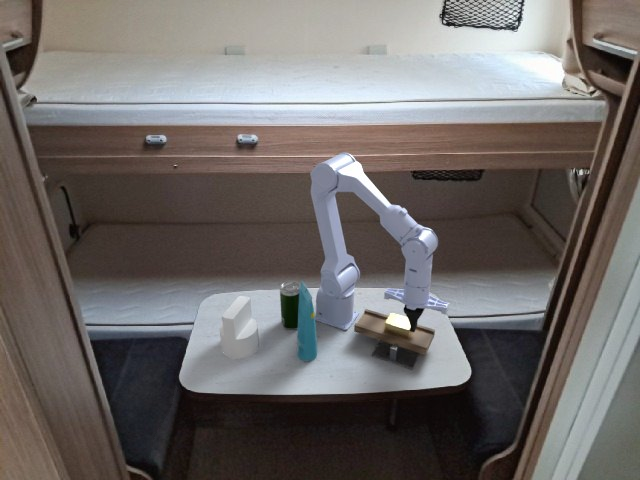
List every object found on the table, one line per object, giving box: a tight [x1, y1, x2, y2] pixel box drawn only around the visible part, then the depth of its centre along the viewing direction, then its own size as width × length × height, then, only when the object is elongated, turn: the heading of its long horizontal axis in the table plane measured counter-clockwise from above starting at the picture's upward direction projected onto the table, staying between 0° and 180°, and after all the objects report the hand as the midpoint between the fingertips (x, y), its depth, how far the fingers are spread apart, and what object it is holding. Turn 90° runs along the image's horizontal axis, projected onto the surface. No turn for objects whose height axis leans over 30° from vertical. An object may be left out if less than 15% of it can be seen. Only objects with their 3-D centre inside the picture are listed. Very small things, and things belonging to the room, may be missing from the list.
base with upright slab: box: [218, 295, 260, 360], centre depth 113 cm, size 9×9×12 cm
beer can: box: [279, 280, 301, 331], centre depth 120 cm, size 5×5×12 cm
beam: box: [353, 308, 436, 356], centre depth 115 cm, size 18×8×3 cm, turn 63°
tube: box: [296, 279, 318, 362], centre depth 109 cm, size 7×5×19 cm, turn 26°
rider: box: [384, 312, 412, 340], centre depth 113 cm, size 6×4×3 cm
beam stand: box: [371, 340, 421, 371], centre depth 115 cm, size 10×13×4 cm
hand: (413, 329), depth 112 cm, fingers closed, pressing on rider
